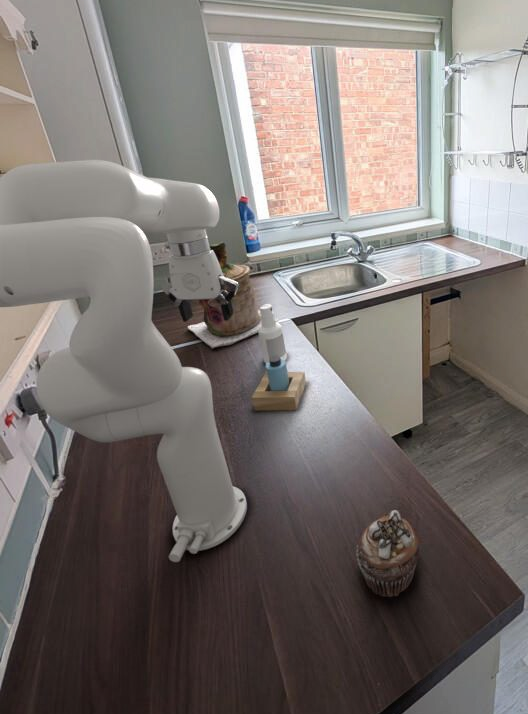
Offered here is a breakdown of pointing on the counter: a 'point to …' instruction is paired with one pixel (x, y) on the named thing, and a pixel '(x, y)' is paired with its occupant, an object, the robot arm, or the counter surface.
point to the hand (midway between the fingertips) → (208, 318)
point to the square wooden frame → (279, 394)
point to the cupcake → (388, 554)
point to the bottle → (277, 374)
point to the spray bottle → (271, 335)
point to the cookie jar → (243, 306)
